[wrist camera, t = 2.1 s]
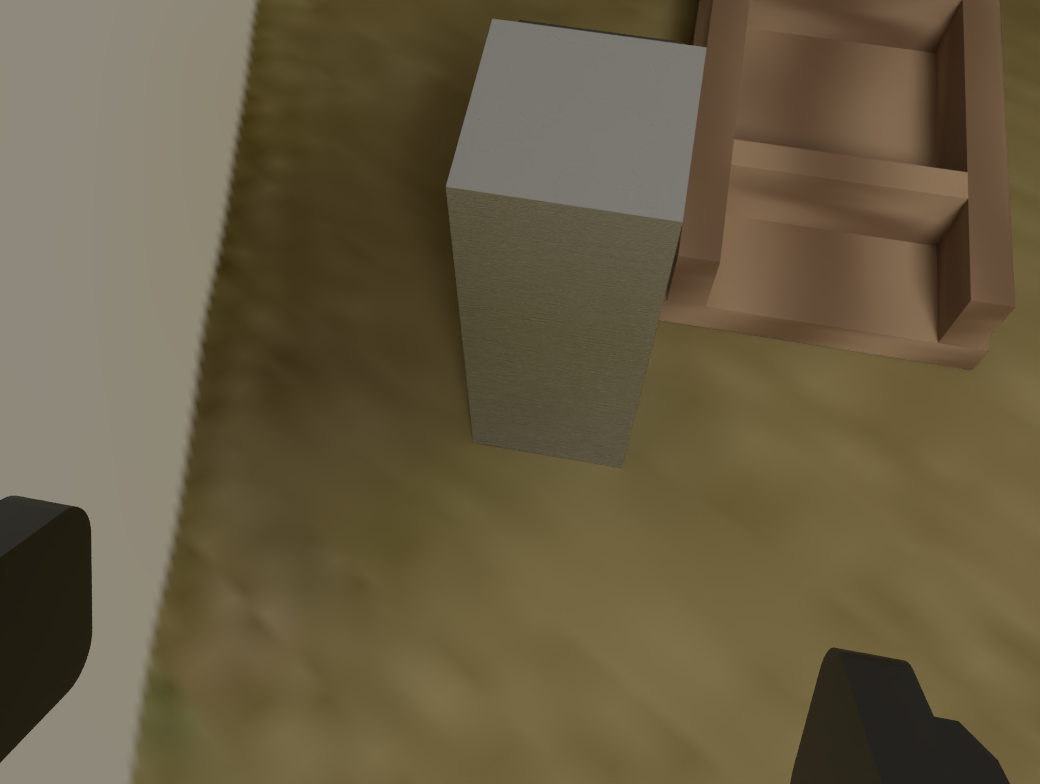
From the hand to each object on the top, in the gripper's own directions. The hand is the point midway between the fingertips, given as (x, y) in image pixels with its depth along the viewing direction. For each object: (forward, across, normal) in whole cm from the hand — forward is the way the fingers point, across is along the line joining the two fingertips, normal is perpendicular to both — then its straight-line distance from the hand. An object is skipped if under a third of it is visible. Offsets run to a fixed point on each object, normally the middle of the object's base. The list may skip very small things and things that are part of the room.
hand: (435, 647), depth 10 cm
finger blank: (+20, 0, +3) cm, 20 cm away
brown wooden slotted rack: (+29, -8, -7) cm, 31 cm away
